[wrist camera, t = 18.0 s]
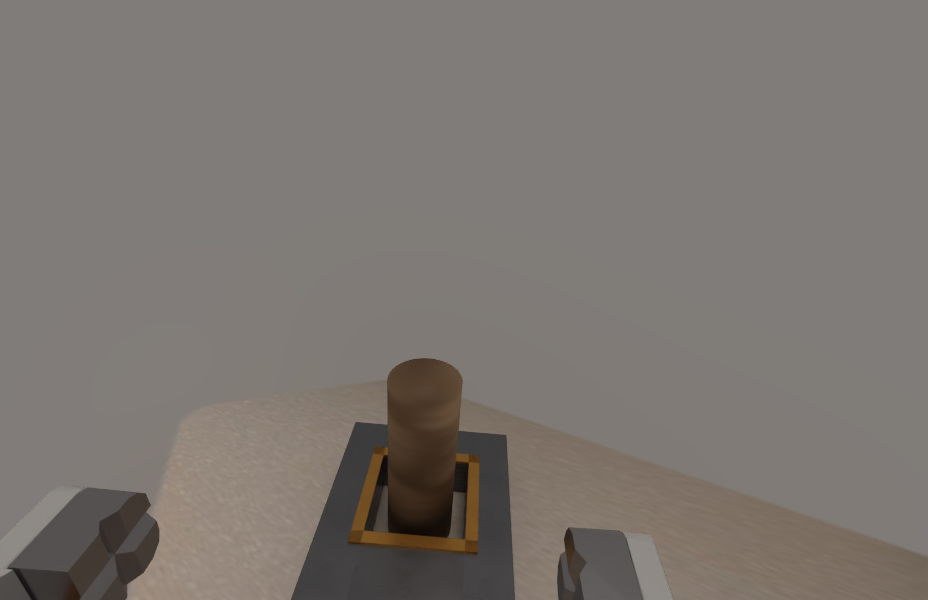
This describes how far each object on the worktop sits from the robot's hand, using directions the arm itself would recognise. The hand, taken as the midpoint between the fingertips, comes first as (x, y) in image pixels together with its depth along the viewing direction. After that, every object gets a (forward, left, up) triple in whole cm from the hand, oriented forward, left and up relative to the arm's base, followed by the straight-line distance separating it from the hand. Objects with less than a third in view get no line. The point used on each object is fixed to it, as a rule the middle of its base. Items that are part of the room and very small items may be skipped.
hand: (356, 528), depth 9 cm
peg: (-6, -16, -22) cm, 28 cm away
